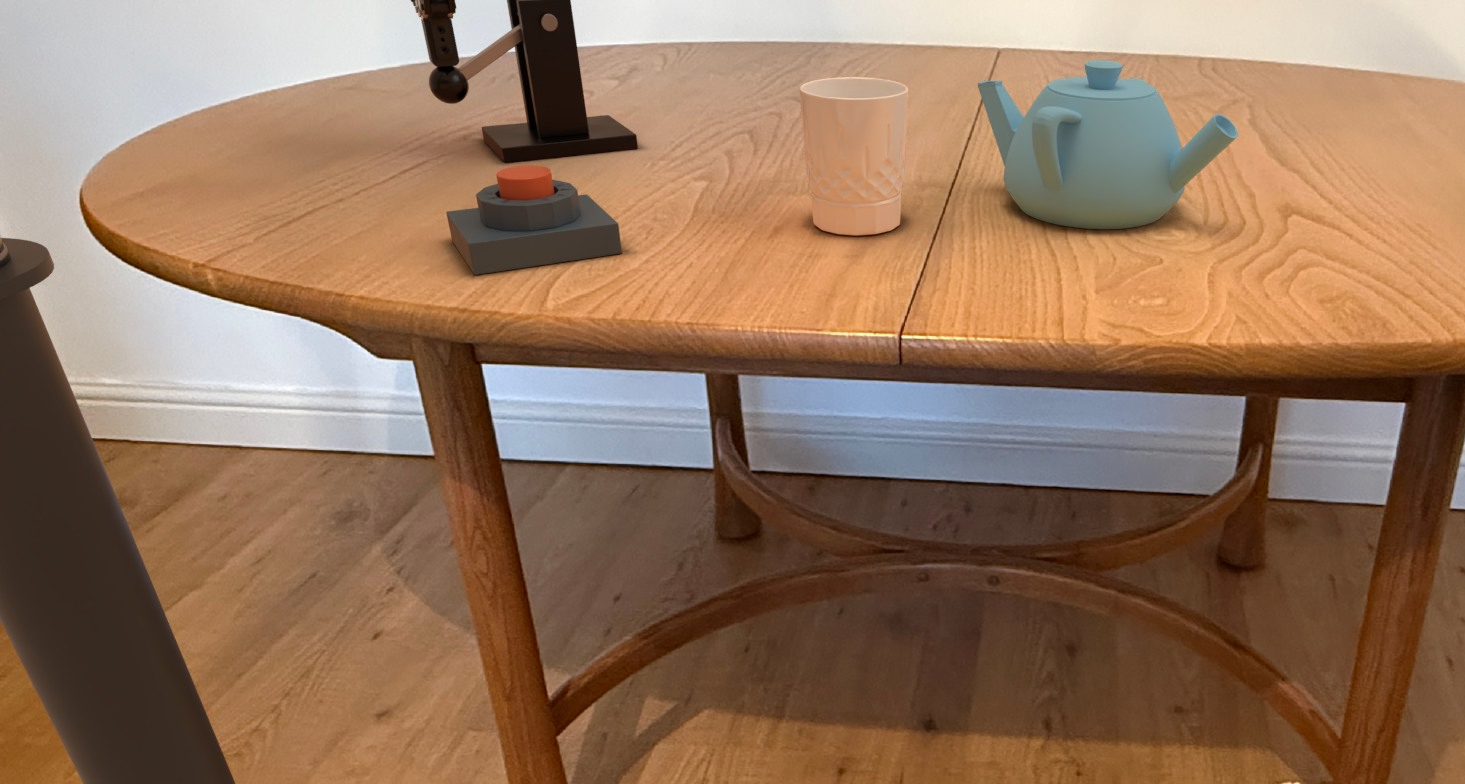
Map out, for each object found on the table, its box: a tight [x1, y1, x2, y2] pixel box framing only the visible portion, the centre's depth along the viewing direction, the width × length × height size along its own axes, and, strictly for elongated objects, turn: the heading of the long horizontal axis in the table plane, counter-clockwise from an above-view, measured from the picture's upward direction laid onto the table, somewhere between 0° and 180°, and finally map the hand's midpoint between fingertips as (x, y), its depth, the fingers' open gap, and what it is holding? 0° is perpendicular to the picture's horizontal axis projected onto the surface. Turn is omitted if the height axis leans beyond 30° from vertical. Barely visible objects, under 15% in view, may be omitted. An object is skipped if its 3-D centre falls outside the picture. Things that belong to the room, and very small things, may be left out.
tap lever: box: [428, 13, 523, 105], centre depth 100 cm, size 13×3×3 cm, turn 120°
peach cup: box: [799, 76, 909, 236], centre depth 85 cm, size 8×8×10 cm
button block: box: [446, 179, 623, 276], centre depth 80 cm, size 10×8×4 cm
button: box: [495, 165, 555, 200], centre depth 79 cm, size 4×4×2 cm
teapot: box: [977, 59, 1239, 230], centre depth 90 cm, size 15×17×11 cm
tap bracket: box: [481, 0, 639, 164], centre depth 103 cm, size 12×9×13 cm
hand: (445, 64), depth 99 cm, fingers closed
